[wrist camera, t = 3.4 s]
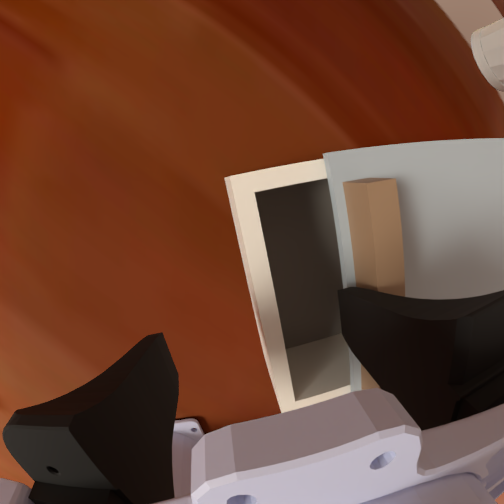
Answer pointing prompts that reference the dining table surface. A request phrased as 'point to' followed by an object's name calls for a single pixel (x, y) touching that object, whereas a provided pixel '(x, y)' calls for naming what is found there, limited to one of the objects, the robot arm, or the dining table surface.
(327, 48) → the dining table surface
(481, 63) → the cup
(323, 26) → the dining table surface
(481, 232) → the lid
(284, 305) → the carton
